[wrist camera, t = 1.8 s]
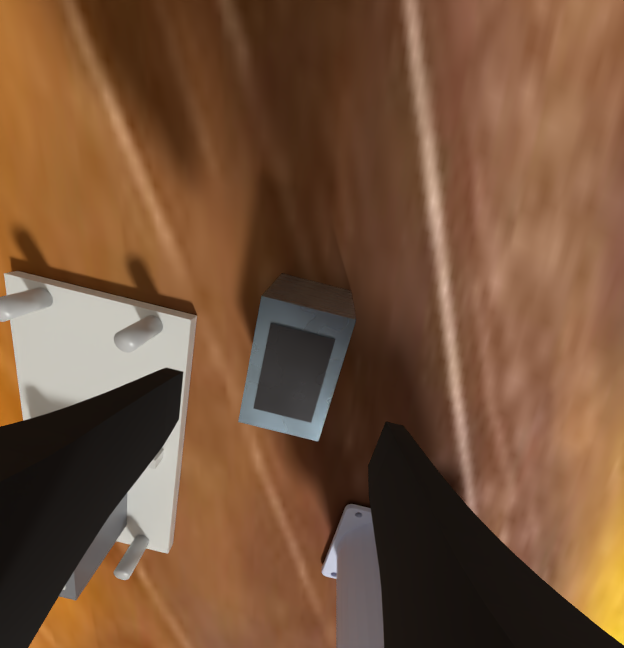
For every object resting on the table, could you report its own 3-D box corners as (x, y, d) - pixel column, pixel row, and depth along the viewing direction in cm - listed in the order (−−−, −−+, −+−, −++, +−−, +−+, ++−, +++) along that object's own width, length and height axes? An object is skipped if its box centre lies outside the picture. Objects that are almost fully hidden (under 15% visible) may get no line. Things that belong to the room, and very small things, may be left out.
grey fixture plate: (196, 315, 18) (136, 360, 13) (172, 543, 26) (127, 634, 20) (17, 270, 18) (-122, 296, 13) (45, 512, 26) (-35, 595, 20)
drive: (351, 290, 17) (356, 320, 12) (323, 386, 19) (318, 443, 15) (282, 273, 17) (260, 296, 12) (262, 371, 19) (237, 423, 15)
